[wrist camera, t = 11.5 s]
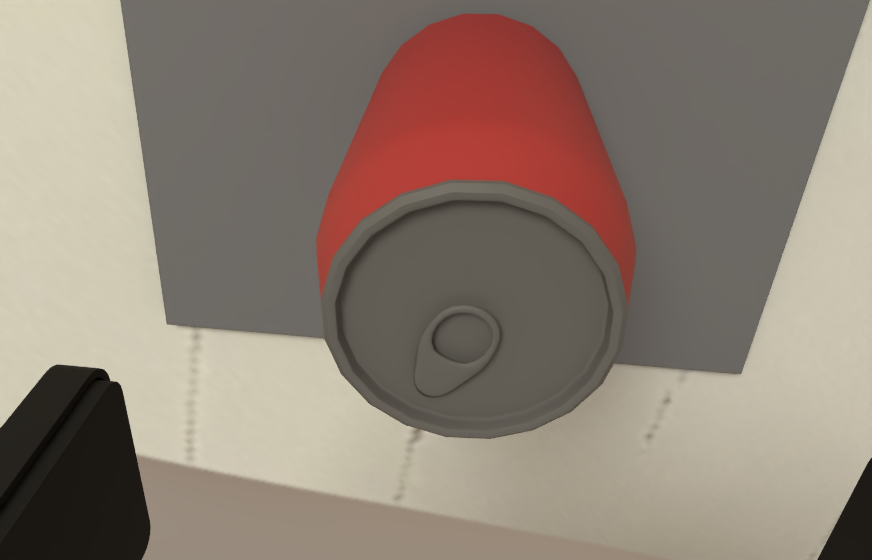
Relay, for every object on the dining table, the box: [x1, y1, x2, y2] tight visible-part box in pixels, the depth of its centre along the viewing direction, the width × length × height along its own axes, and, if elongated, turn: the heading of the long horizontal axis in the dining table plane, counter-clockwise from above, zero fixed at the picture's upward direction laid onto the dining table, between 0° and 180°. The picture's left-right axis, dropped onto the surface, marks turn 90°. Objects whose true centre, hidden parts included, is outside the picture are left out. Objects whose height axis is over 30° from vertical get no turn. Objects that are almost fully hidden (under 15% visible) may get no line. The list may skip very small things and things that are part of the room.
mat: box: [120, 0, 870, 374], centre depth 24 cm, size 22×18×1 cm
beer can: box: [316, 14, 636, 439], centre depth 19 cm, size 7×7×12 cm
